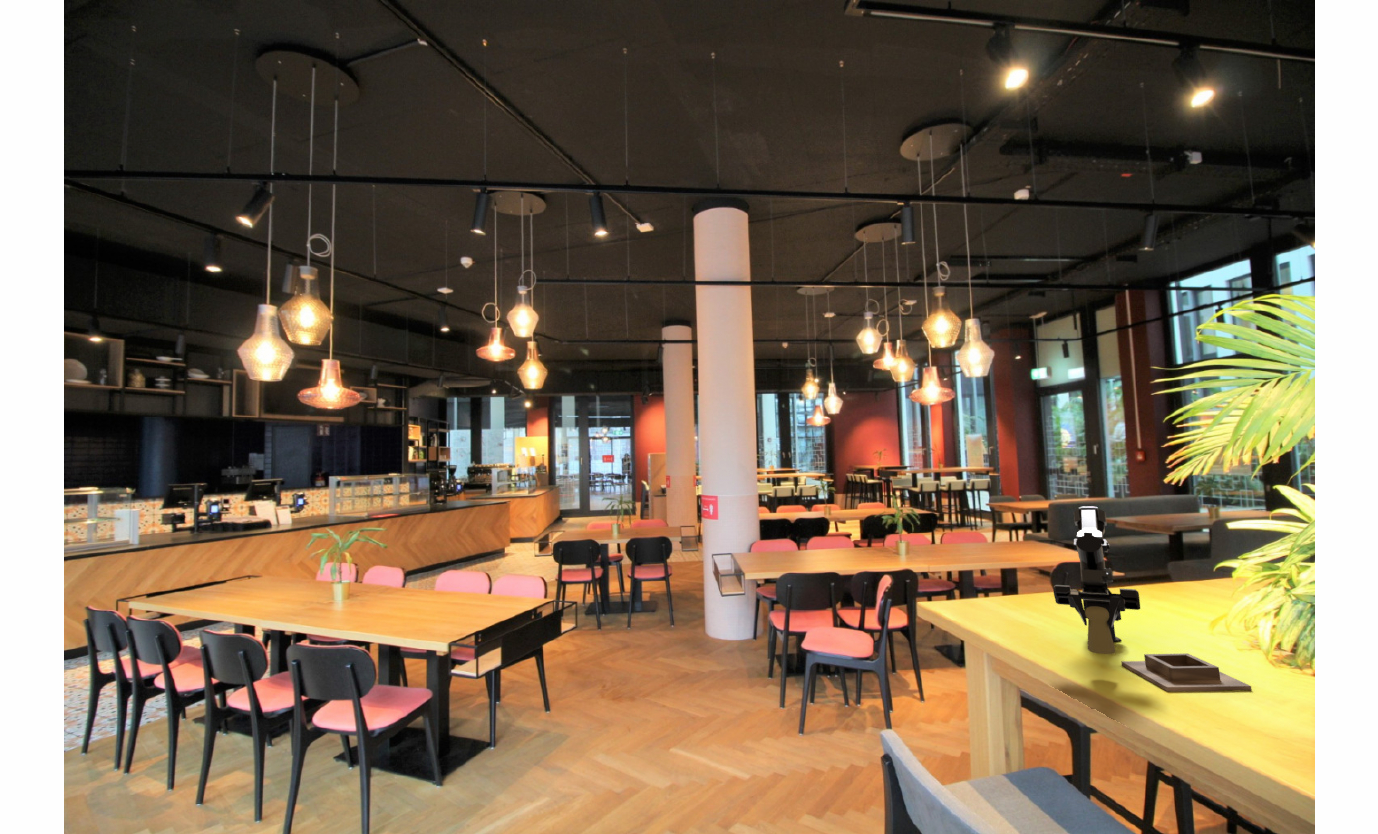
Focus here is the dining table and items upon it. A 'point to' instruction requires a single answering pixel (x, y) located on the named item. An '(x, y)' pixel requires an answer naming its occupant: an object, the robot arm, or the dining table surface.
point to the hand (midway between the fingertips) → (1098, 625)
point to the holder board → (1183, 673)
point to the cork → (1099, 631)
